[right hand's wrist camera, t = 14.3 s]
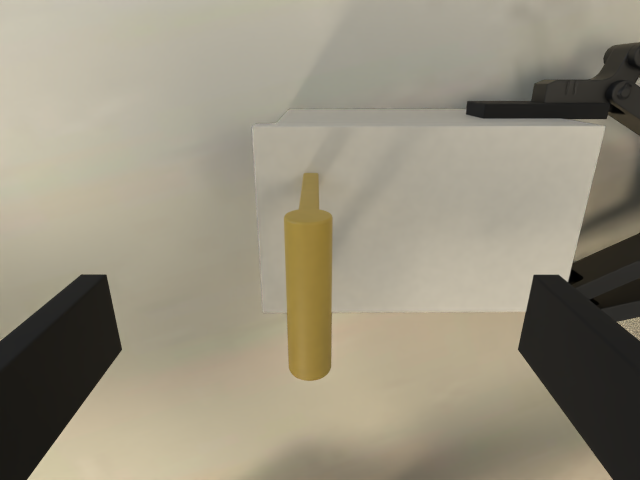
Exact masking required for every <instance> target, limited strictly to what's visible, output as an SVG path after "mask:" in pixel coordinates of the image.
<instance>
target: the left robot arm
mask: <svg viewBox="0 0 640 480" xmlns="http://www.w3.org/2000/svg"><path fill="white" fill-rule="evenodd" d="M603 59H604V66H603V68H602V70H601V71H600V73H599V74H598V75H597V76H595V77H594V78H592V79H589V80H542V81H540V82H537V83H535V84H534V89H533V94H532V100H531V101H467V109H466V115H470V116H475V117H479V118H483V119H550V118H561V119H607V115H609V116H611V117H612V118H614V119H615V120H617V121H618V122H620V123H621V124H623V125H624V126H626V127H628V128H629V129H631V130H632V131H634V132H635V133H637V134H638V135H640V87H639V86H638V85H636V84H635V82H636V81H637V79H638V77H639V78H640V42H639V43H630V44H621V45H615V46H612V47H610V48H609V49H608V50H607V51H606V53H605V55H604V58H603ZM568 283H569V284H571V285H572V286H573V287H574V288H576V289H577V290H578V291H579V292H580V293H582V294H583V295H584V296H585V297H586V298H588V299H589V300H590V301H591V302H593V303H594V304H595V305H596V306H597V307H599V308H600V309H601V310H602V311H604V312H605V313H606V314H607V315H608V316H610V317H611V318H612V319H613V320H614V321H616V322H618V321H622V320H627V319H631V318H636V317H640V233H639V234H637V235H634V236H632V237H630V238H628V239H626V240H623V241H621V242H619V243H617V244H614V245H612V246H610V247H608V248H606V249H603V250H601V251H599V252H597V253H594V254H592V255H590V256H588V257H586V258H583V259H581V260H579V261H577V262H574V263H572V268H571V272H570V276H569V280H568Z"/></svg>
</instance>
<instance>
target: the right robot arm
mask: <svg viewBox="0 0 640 480" xmlns="http://www.w3.org/2000/svg"><path fill="white" fill-rule="evenodd" d="M121 350H122V347H121V343H120V338H119V333H118V328H117V323H116V319H115V314H114V309H113V304H112V299H111V295H110V290H109V285H108V280H107V275H80V276H79V277H78V278H77V279H75V280H74V281H73V282H72V283H71V284H69V285H68V286H67V287H66V288H64V289H63V290H62V291H61V292H60V293H58V294H57V295H56V296H55V297H54V298H52V299H51V300H50V301H49V302H47V303H46V304H45V305H44V306H43V307H41V308H40V309H39V310H38V311H36V312H35V313H34V314H33V315H32V316H30V317H29V318H28V319H27V320H26V321H24V322H23V323H22V324H21V325H19V326H18V327H17V328H16V329H15V330H13V331H12V332H11V333H10V334H8V335H7V336H6V337H5V338H4V339H2V340H1V341H0V480H27V479H28V477H29V476H30V475H31V473H32V472H33V471H34V469H35V468H36V466H37V465H38V464H39V462H40V461H41V460H42V458H43V457H44V456H45V454H46V453H47V451H48V450H49V449H50V447H51V446H52V445H53V443H54V442H55V441H56V439H57V438H58V436H59V435H60V434H61V432H62V431H63V430H64V428H65V427H66V425H67V424H68V423H69V421H70V420H71V419H72V417H73V416H74V415H75V413H76V412H77V410H78V409H79V408H80V406H81V405H82V404H83V402H84V401H85V399H86V398H87V397H88V395H89V394H90V393H91V391H92V390H93V389H94V387H95V386H96V384H97V383H98V382H99V380H100V379H101V378H102V376H103V375H104V373H105V372H106V371H107V369H108V368H109V367H110V365H111V364H112V363H113V361H114V360H115V358H116V357H117V356H118V354H119V353H120V352H121ZM518 350H519V352H520V353H521V354H522V356H523V357H524V358H525V360H526V361H527V363H528V364H529V365H530V367H531V368H532V369H533V371H534V372H535V373H536V375H537V376H538V378H539V379H540V380H541V382H542V383H543V384H544V386H545V387H546V389H547V390H548V391H549V393H550V394H551V395H552V397H553V398H554V399H555V401H556V402H557V404H558V405H559V406H560V408H561V409H562V410H563V412H564V413H565V415H566V416H567V417H568V419H569V420H570V421H571V423H572V424H573V425H574V427H575V428H576V430H577V431H578V432H579V434H580V435H581V436H582V438H583V439H584V441H585V442H586V443H587V445H588V446H589V447H590V449H591V450H592V451H593V453H594V454H595V456H596V457H597V458H598V460H599V461H600V462H601V464H602V465H603V466H604V468H605V469H606V471H607V472H608V473H609V475H610V476H611V477H612V479H613V480H640V341H639V340H638V339H636V338H635V337H634V336H633V335H632V334H630V333H629V332H628V331H627V330H625V329H624V328H623V327H622V326H621V325H619V324H618V323H617V322H616V321H614V320H613V319H612V318H611V317H610V316H608V315H607V314H606V313H605V312H604V311H602V310H601V309H600V308H599V307H597V306H596V305H595V304H594V303H593V302H591V301H590V300H589V299H588V298H586V297H585V296H584V295H583V294H582V293H580V292H579V291H578V290H577V289H576V288H574V287H573V286H572V285H571V284H569V283H568V282H567V281H566V280H565V279H563V278H562V277H561V276H560V275H533V280H532V285H531V290H530V295H529V299H528V304H527V309H526V314H525V319H524V323H523V328H522V333H521V338H520V343H519V347H518Z"/></svg>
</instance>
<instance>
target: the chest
mask: <svg viewBox="0 0 640 480" xmlns="http://www.w3.org/2000/svg"><path fill="white" fill-rule="evenodd" d="M277 123H585V122H579V121H573V120H567V119H561V118H550V119H483V118H479V117H475V116H470V115H466V109H288V110H287V111H286V113H285V114H284V115H283V116H282V117H281V118H280V119H279V120H278V122H277Z"/></svg>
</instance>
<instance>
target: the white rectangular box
mask: <svg viewBox="0 0 640 480" xmlns="http://www.w3.org/2000/svg"><path fill="white" fill-rule="evenodd" d="M605 128H606V126H604V125H598V124H592V123H256V124H255V125H253V126H252V141H253V158H254V175H255V192H256V209H257V226H258V243H259V259H260V276H261V293H262V310H263V313H287V327H288V356H289V370H290V372H291V373H292V374H293V375H294V376H295V377H297V378H299V379H301V380H307V381H312V380H318V379H321V378H323V377H324V376H326V375H327V374H328V372H329V371H330V369H331V324H332V313H410V312H526V309H527V304H528V299H529V295H530V290H531V285H532V280H533V275H560V276H561V277H562V278H563V279H565V280H566V281H567V282H568V280H569V276H570V272H571V268H572V263H573V259H574V255H575V251H576V247H577V243H578V239H579V235H580V231H581V227H582V222H583V218H584V214H585V210H586V206H587V202H588V198H589V194H590V190H591V186H592V181H593V177H594V173H595V169H596V165H597V161H598V157H599V153H600V149H601V144H602V140H603V136H604V132H605Z"/></svg>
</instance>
